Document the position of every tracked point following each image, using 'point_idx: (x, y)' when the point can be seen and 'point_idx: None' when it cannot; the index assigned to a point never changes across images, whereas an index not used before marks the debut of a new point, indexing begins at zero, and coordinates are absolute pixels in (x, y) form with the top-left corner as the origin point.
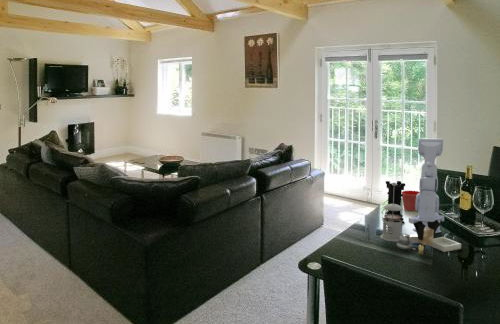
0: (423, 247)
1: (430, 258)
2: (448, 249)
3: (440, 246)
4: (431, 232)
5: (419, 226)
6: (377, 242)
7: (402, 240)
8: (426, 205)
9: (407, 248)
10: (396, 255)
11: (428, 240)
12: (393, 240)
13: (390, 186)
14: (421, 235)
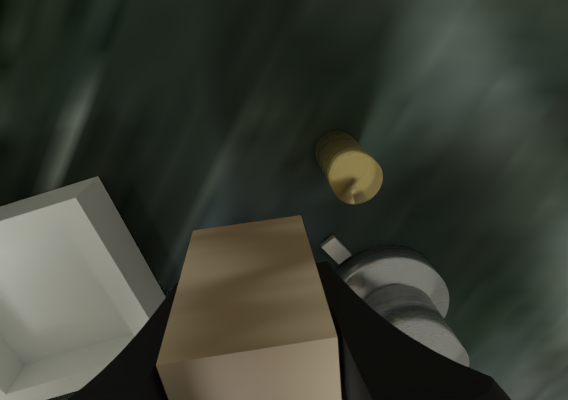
0: (335, 158)
1: (304, 30)
2: (38, 199)
3: (105, 232)
4: (202, 324)
5: (501, 392)
6: (509, 363)
7: (442, 317)
8: None
9: (392, 249)
10: (557, 132)
11: (248, 247)
12: None
13: None
14: (349, 290)
